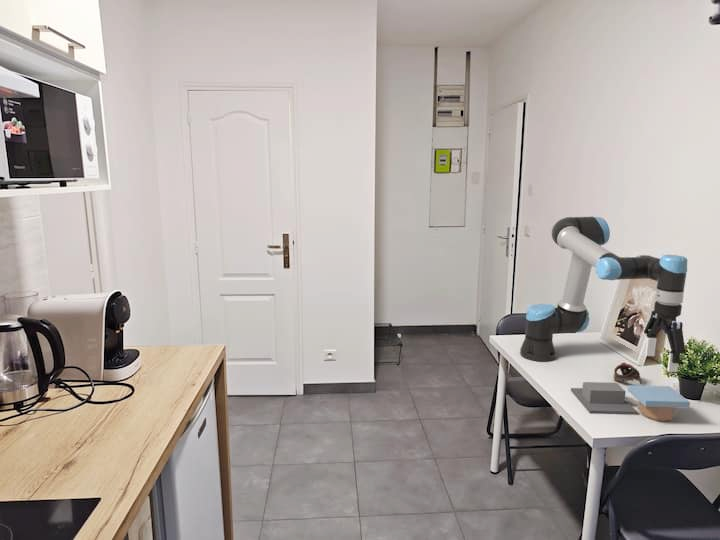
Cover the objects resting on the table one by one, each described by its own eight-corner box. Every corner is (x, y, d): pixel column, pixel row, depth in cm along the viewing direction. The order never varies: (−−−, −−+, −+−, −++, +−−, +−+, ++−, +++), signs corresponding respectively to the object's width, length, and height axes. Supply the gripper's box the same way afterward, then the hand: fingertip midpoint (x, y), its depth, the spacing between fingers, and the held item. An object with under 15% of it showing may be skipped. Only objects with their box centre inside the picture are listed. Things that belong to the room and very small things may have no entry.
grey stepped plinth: (570, 390, 185) (572, 375, 184) (613, 391, 184) (615, 376, 183) (589, 413, 167) (591, 397, 166) (637, 414, 166) (639, 398, 165)
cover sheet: (627, 390, 171) (628, 385, 171) (668, 391, 170) (669, 386, 170) (645, 406, 159) (645, 400, 159) (689, 407, 159) (690, 402, 158)
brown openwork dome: (647, 388, 188) (640, 372, 185) (621, 395, 191) (615, 380, 188) (635, 369, 198) (629, 354, 196) (611, 376, 201) (605, 361, 199)
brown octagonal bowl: (633, 407, 171) (635, 391, 170) (662, 408, 171) (664, 392, 169) (648, 421, 161) (650, 405, 160) (679, 422, 161) (681, 406, 160)
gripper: (637, 292, 171) (630, 349, 175) (679, 313, 146) (670, 378, 151) (659, 293, 170) (652, 350, 175) (704, 313, 146) (695, 379, 150)
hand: (660, 363), depth 163 cm, fingers open, 13 cm apart
